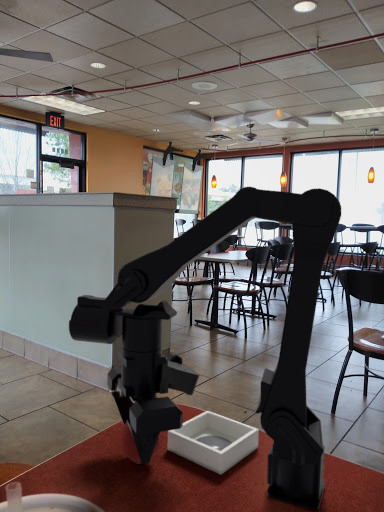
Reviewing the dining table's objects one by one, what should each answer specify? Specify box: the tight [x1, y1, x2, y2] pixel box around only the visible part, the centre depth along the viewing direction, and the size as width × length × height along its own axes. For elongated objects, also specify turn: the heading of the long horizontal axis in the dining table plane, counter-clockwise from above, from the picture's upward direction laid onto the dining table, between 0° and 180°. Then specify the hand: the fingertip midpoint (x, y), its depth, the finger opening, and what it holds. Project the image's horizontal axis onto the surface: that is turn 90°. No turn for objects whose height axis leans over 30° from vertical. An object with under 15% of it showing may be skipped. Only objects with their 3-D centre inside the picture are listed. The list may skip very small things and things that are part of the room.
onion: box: [119, 422, 161, 465], centre depth 61 cm, size 6×6×8 cm
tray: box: [166, 410, 259, 476], centre depth 66 cm, size 10×10×3 cm
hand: (139, 452), depth 61 cm, fingers closed on onion, 6 cm apart
